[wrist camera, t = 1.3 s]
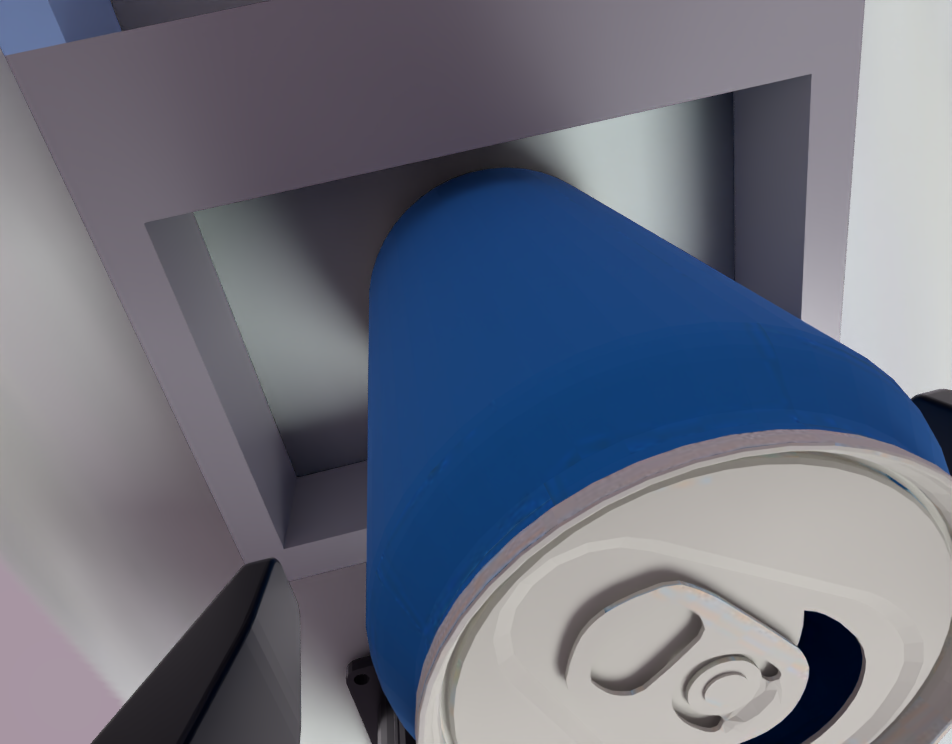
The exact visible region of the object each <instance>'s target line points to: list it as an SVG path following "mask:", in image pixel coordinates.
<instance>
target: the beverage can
mask: <svg viewBox="0 0 952 744" xmlns="http://www.w3.org/2000/svg"><path fill="white" fill-rule="evenodd" d="M366 631H367V637H368V643H369V649H370V655H371V659H372V662H373V665H374V668H375V671H376V673H377V676H378V679H379V681H380V684H381V687H382V690H383V692H384V694H385V696H386V698H387V699H388V701H389V703H390V705H391V706H392V708H393V710H394V711H395V713H396V715H397V716H398V718H399V720H400V722H401V723H402V725H403V727H404V728H405V729H406V730H407V731H408V732H409V733H410V735H411V736H412V737H413V738H414V739H415V740H416V744H938V742H939V741H940V740H941V739H942V738H943V737H944V736H945V735H946V733H947V732H948V731H949V730H950V729H951V728H952V476H950V473H949V470H948V467H947V464H946V461H945V458H944V455H943V452H942V449H941V447H940V445H939V443H938V441H937V439H936V438H935V436H934V434H933V432H932V430H931V429H930V427H929V425H928V423H927V422H926V420H925V418H924V416H923V415H922V413H921V411H920V410H919V408H918V407H917V406H916V405H915V404H914V403H913V402H912V400H911V399H910V398H909V397H908V396H907V395H906V393H905V392H904V391H903V390H902V389H901V388H900V387H899V385H898V384H897V383H896V382H895V381H894V380H893V379H892V378H891V377H890V376H889V375H887V374H886V373H885V372H884V371H882V370H881V369H880V368H878V367H877V366H876V365H875V364H873V363H872V362H871V361H870V360H868V359H867V358H865V357H864V356H862V355H860V354H859V353H857V352H855V351H853V350H852V349H850V348H848V347H847V346H845V345H843V344H842V343H840V342H838V341H836V340H835V339H833V338H831V337H830V336H828V335H826V334H824V333H823V332H821V331H819V330H818V329H816V328H814V327H812V326H811V325H809V324H807V323H806V322H804V321H802V320H801V319H799V318H797V317H795V316H794V315H792V314H790V313H789V312H787V311H785V310H783V309H782V308H780V307H778V306H777V305H775V304H773V303H771V302H770V301H768V300H766V299H765V298H763V297H761V296H760V295H758V294H756V293H754V292H753V291H751V290H749V289H748V288H746V287H744V286H742V285H741V284H739V283H737V282H736V281H734V280H732V279H731V278H729V277H727V276H725V275H724V274H722V273H720V272H719V271H717V270H715V269H713V268H712V267H710V266H708V265H707V264H705V263H703V262H701V261H700V260H698V259H696V258H695V257H693V256H691V255H690V254H688V253H686V252H684V251H683V250H681V249H679V248H678V247H676V246H674V245H672V244H671V243H669V242H667V241H666V240H664V239H662V238H660V237H659V236H657V235H655V234H654V233H652V232H650V231H649V230H647V229H645V228H643V227H642V226H640V225H638V224H637V223H635V222H633V221H631V220H630V219H628V218H626V217H625V216H623V215H621V214H619V213H618V212H616V211H614V210H613V209H611V208H609V207H608V206H606V205H604V204H602V203H601V202H599V201H597V200H596V199H594V198H592V197H590V196H589V195H587V194H585V193H584V192H582V191H580V190H578V189H577V188H575V187H573V186H571V185H570V184H568V183H566V182H564V181H562V180H560V179H558V178H556V177H553V176H550V175H548V174H545V173H542V172H538V171H533V170H528V169H521V168H492V169H484V170H480V171H475V172H470V173H467V174H464V175H461V176H459V177H456V178H453V179H451V180H449V181H447V182H445V183H443V184H441V185H439V186H437V187H435V188H434V189H432V190H431V191H429V192H428V193H427V194H425V195H424V196H422V197H421V198H419V199H418V200H417V201H416V202H415V203H414V204H413V205H412V206H411V207H410V208H409V209H407V210H406V211H405V213H404V214H403V215H402V216H401V217H400V219H399V220H398V221H397V222H396V223H395V225H394V226H393V228H392V229H391V231H390V232H389V234H388V236H387V237H386V239H385V240H384V242H383V245H382V247H381V249H380V251H379V253H378V256H377V258H376V262H375V265H374V268H373V272H372V276H371V283H370V289H369V360H368V459H367V558H366Z"/></svg>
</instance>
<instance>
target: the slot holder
mask: <svg viewBox="0 0 952 744" xmlns="http://www.w3.org/2000/svg"><path fill="white" fill-rule="evenodd" d="M864 6H865V0H269V1H265V2H260V3H255V4H250V5H246V6H241V7H236V8H231V9H226V10H222V11H217V12H212V13H207V14H202V15H198V16H193V17H188V18H183V19H178V20H174V21H169V22H164V23H159V24H154V25H150V26H145V27H140V28H135V29H130V30H126V31H122V30H121V27H120V25H119V22H118V20H117V17H116V15H115V12H114V9H113V7H112V4H111V2H110V0H0V47H1V50H2V52H3V54H4V56H5V58H6V60H7V62H8V64H9V66H10V69H11V71H12V73H13V75H14V77H15V79H16V81H17V83H18V85H19V88H20V90H21V92H22V94H23V96H24V98H25V100H26V102H27V105H28V107H29V109H30V111H31V113H32V115H33V117H34V119H35V121H36V124H37V126H38V128H39V130H40V132H41V134H42V136H43V138H44V140H45V143H46V145H47V147H48V149H49V151H50V153H51V155H52V157H53V160H54V162H55V164H56V166H57V168H58V170H59V172H60V174H61V176H62V179H63V181H64V183H65V185H66V187H67V189H68V191H69V193H70V195H71V198H72V200H73V202H74V204H75V206H76V208H77V210H78V212H79V215H80V217H81V219H82V221H83V223H84V225H85V227H86V229H87V231H88V234H89V236H90V238H91V240H92V242H93V244H94V246H95V248H96V250H97V253H98V255H99V257H100V259H101V261H102V263H103V265H104V267H105V269H106V272H107V274H108V276H109V278H110V280H111V282H112V284H113V286H114V289H115V291H116V293H117V295H118V297H119V299H120V301H121V303H122V305H123V308H124V310H125V312H126V314H127V316H128V318H129V320H130V322H131V324H132V327H133V329H134V331H135V333H136V335H137V337H138V339H139V341H140V344H141V346H142V348H143V350H144V352H145V354H146V356H147V358H148V360H149V363H150V365H151V367H152V369H153V371H154V373H155V375H156V377H157V379H158V382H159V384H160V386H161V388H162V390H163V392H164V394H165V396H166V399H167V401H168V403H169V405H170V407H171V409H172V411H173V413H174V415H175V418H176V420H177V422H178V424H179V426H180V428H181V430H182V432H183V434H184V437H185V439H186V441H187V443H188V445H189V447H190V449H191V451H192V454H193V456H194V458H195V460H196V462H197V464H198V466H199V468H200V470H201V473H202V475H203V477H204V479H205V481H206V483H207V485H208V487H209V489H210V492H211V494H212V496H213V498H214V500H215V502H216V504H217V506H218V509H219V511H220V513H221V515H222V517H223V519H224V521H225V523H226V525H227V528H228V530H229V532H230V534H231V536H232V538H233V540H234V542H235V544H236V547H237V549H238V551H239V553H240V555H241V557H242V559H243V561H244V564H247V563H250V562H254V561H258V560H262V559H266V558H270V557H273V558H276V559H277V560H278V561H279V562H280V563H281V565H282V567H283V570H284V572H285V574H286V577H287V579H288V581H289V582H290V581H294V580H298V579H302V578H305V577H309V576H313V575H317V574H321V573H325V572H329V571H333V570H337V569H341V568H345V567H349V566H353V565H357V564H361V563H365V562H366V558H367V461H363V462H359V463H355V464H351V465H347V466H342V467H338V468H334V469H330V470H326V471H322V472H318V473H314V474H310V475H306V476H302V477H298V478H297V477H296V474H295V472H294V469H293V467H292V464H291V461H290V459H289V456H288V454H287V451H286V449H285V446H284V444H283V441H282V438H281V436H280V433H279V431H278V428H277V426H276V423H275V421H274V418H273V415H272V413H271V410H270V408H269V405H268V403H267V400H266V398H265V395H264V393H263V390H262V387H261V385H260V382H259V380H258V377H257V375H256V372H255V370H254V367H253V364H252V362H251V359H250V357H249V354H248V352H247V349H246V347H245V344H244V341H243V339H242V336H241V334H240V331H239V329H238V326H237V324H236V321H235V318H234V316H233V313H232V311H231V308H230V306H229V303H228V301H227V298H226V295H225V293H224V290H223V288H222V285H221V283H220V280H219V278H218V275H217V272H216V270H215V267H214V265H213V262H212V260H211V257H210V255H209V252H208V250H207V247H206V244H205V242H204V239H203V237H202V234H201V232H200V229H199V227H198V224H197V221H196V219H195V216H194V214H193V212H195V211H199V210H204V209H208V208H213V207H217V206H222V205H226V204H231V203H235V202H240V201H244V200H249V199H253V198H258V197H262V196H267V195H271V194H275V193H280V192H284V191H289V190H293V189H298V188H302V187H307V186H311V185H316V184H320V183H325V182H329V181H334V180H338V179H343V178H347V177H352V176H356V175H361V174H365V173H370V172H374V171H378V170H383V169H387V168H392V167H396V166H401V165H405V164H410V163H414V162H419V161H423V160H428V159H432V158H437V157H441V156H446V155H450V154H455V153H459V152H464V151H468V150H473V149H477V148H481V147H486V146H490V145H495V144H499V143H504V142H508V141H513V140H517V139H522V138H526V137H531V136H535V135H540V134H544V133H549V132H553V131H558V130H562V129H567V128H571V127H576V126H580V125H584V124H589V123H593V122H598V121H602V120H607V119H611V118H616V117H620V116H625V115H629V114H634V113H638V112H643V111H647V110H652V109H656V108H661V107H665V106H670V105H674V104H679V103H683V102H687V101H692V100H696V99H701V98H705V97H710V96H714V95H719V94H723V93H728V92H732V91H734V218H735V281H736V282H737V283H739V284H741V285H742V286H744V287H746V288H748V289H749V290H751V291H753V292H754V293H756V294H758V295H760V296H761V297H763V298H765V299H766V300H768V301H770V302H771V303H773V304H775V305H777V306H778V307H780V308H782V309H783V310H785V311H787V312H789V313H790V314H792V315H794V316H795V317H797V318H799V319H801V320H802V321H804V322H806V323H807V324H809V325H811V326H812V327H814V328H816V329H818V330H819V331H821V332H823V333H824V334H826V335H828V336H830V337H831V338H833V339H835V340H836V341H838V342H840V332H841V319H842V305H843V292H844V278H845V264H846V251H847V237H848V224H849V210H850V197H851V183H852V169H853V156H854V142H855V129H856V115H857V102H858V88H859V74H860V61H861V47H862V34H863V20H864Z"/></svg>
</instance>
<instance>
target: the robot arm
mask: <svg viewBox="0 0 952 744" xmlns="http://www.w3.org/2000/svg"><path fill="white" fill-rule="evenodd" d="M911 400H912V402H913V403H914V404H915V405H916V406H917V407H918V408H919V410H920V411H921V413H922V415H923V416H924V418H925V420H926V422H927V423H928V425H929V427H930V429H931V430H932V432H933V434H934V436H935V438H936V439H937V441H938V443H939V445H940V447H941V449H942V452H943V455H944V458H945V461H946V464H947V467H948V470H949V473H950V476H952V390H948V389H938V390H934V391H930V392H926V393H922V394H918V395H916V396H914V397H913V398H911ZM359 674H363V675H359ZM346 682H347V685H348V688H349V690H350V692H351V695H352V697H353V700H354V702H355V704H356V707H357V709H358V711H359V714H360V716H361V718H362V721H363V723H364V725H365V728H366V730H367V733H368V735H369V737H370V740H371V742H372V744H416V740H415V739H414V738H413V737H412V736H411V735H410V733H409V732H408V731H407V730H406V729H405V728H404V727H403V725H402V723H401V722H400V720H399V718H398V716H397V715H396V713H395V711H394V710H393V708H392V706H391V705H390V703H389V701H388V699H387V698H386V696H385V694H384V692H383V690H382V687H381V684H380V681H379V679H378V676H377V673H376V671H375V668H374V665H373V662H372V659H371V656H368V657H364V658H360V659H357V660H354V661H352V662H351V663H350V664H349V665H348V667H347V671H346ZM300 733H301V658H300V613H299V607H298V603H297V600H296V597H295V595H294V593H293V590H292V588H291V586H290V584H289V581H288V579H287V577H286V574H285V572H284V570H283V567H282V565H281V563H280V562H279V561H278V560H277V559H276V558H273V557H270V558H266V559H262V560H258V561H254V562H250V563H247V564H245V565H244V566H243V567H242V568H241V569H240V570H239V571H238V572H237V573H236V575H235V576H234V577H233V578H232V579H231V580H230V582H229V583H228V584H227V585H226V586H225V587H224V589H223V590H222V591H221V592H220V593H219V594H218V596H217V597H216V598H215V599H214V600H213V601H212V603H211V604H210V605H209V606H208V607H207V608H206V610H205V611H204V612H203V613H202V614H201V615H200V617H199V618H198V619H197V620H196V621H195V623H194V624H193V625H192V626H191V627H190V628H189V630H188V631H187V632H186V633H185V634H184V635H183V637H182V638H181V639H180V640H179V641H178V642H177V644H176V645H175V646H174V647H173V648H172V649H171V651H170V652H169V653H168V654H167V655H166V656H165V658H164V659H163V660H162V661H161V662H160V663H159V665H158V666H157V667H156V668H155V669H154V670H153V672H152V673H151V674H150V675H149V676H148V677H147V679H146V680H145V681H144V682H143V683H142V684H141V686H140V687H139V688H138V689H137V690H136V691H135V693H134V694H133V695H132V696H131V697H130V698H129V700H128V701H127V702H126V703H125V704H124V705H123V707H122V708H121V709H120V710H119V711H118V712H117V714H116V715H115V716H114V717H113V718H112V719H111V721H110V722H109V723H108V724H107V725H106V727H105V728H104V729H103V730H102V731H101V732H100V733H99V735H98V736H97V737H96V738H95V739H94V740H93V742H92V743H91V744H300Z"/></svg>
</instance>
